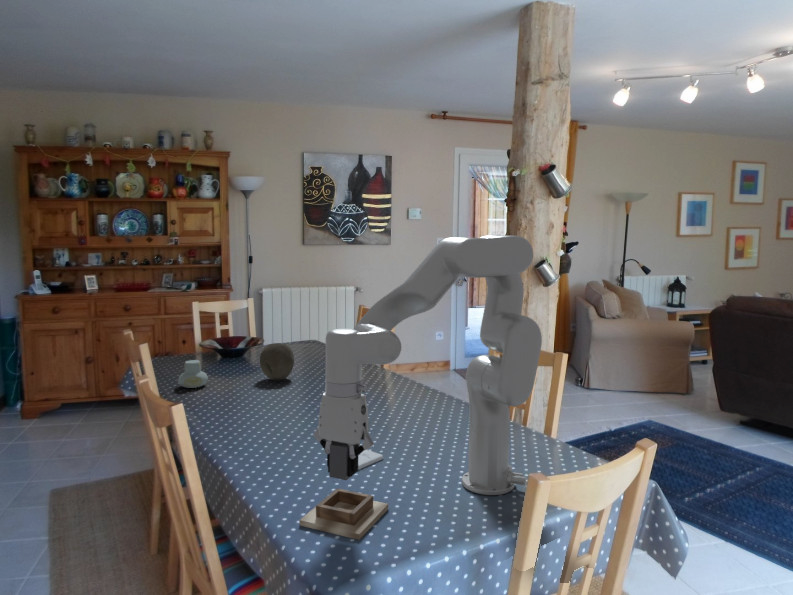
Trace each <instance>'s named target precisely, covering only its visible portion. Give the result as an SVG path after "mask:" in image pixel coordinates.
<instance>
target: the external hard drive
mask: <svg viewBox="0 0 793 595" xmlns="http://www.w3.org/2000/svg"><path fill="white" fill-rule="evenodd" d="M382 460H384V455H383V454H381V453H378V452H375V451H372V450H370V449H366V450H364V451H363V452H362V453H361V454H360V455H358V471H359V470H362V469H363V468H366V467H369V466H370V465H373V464H375V463H377V462H380V461H382Z"/></svg>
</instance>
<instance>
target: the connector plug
mask: <svg viewBox="0 0 793 595" xmlns="http://www.w3.org/2000/svg"><path fill="white" fill-rule="evenodd" d="M348 458H350V454H349V448H348V444H345V443H339V442H333V443H332V444H330V473H329V478H333V479H338V480H343V481H347V480H349V479H350V478H351V477H348Z"/></svg>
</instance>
